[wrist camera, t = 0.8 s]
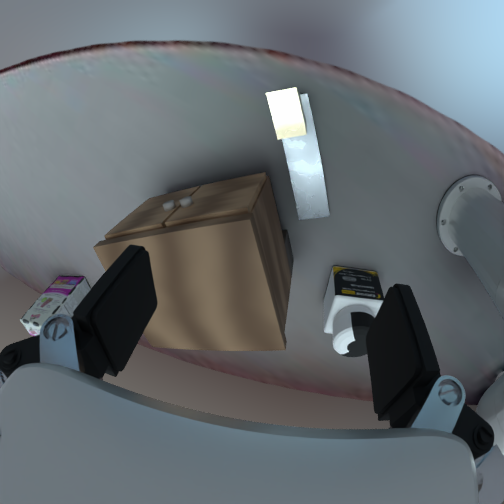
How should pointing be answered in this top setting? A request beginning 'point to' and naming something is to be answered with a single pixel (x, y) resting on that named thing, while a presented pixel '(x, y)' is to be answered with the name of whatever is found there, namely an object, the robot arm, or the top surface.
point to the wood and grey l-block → (300, 151)
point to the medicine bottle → (351, 308)
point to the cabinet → (212, 265)
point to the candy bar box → (56, 302)
